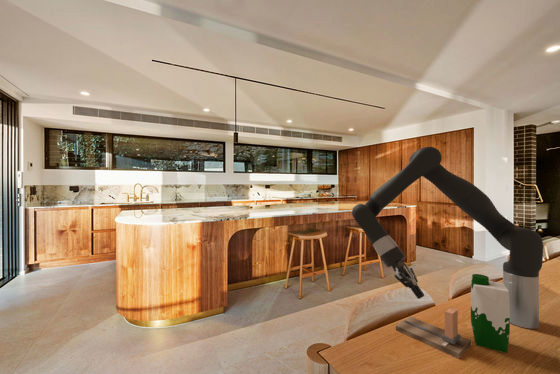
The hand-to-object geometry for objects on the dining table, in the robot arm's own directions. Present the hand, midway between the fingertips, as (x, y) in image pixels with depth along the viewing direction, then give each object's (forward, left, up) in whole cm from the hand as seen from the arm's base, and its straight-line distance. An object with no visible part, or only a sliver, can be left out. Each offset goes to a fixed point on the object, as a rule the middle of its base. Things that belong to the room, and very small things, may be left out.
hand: (421, 297), depth 84 cm
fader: (+1, +9, -9) cm, 13 cm away
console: (+1, +4, -11) cm, 12 cm away
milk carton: (-9, +16, -11) cm, 21 cm away
